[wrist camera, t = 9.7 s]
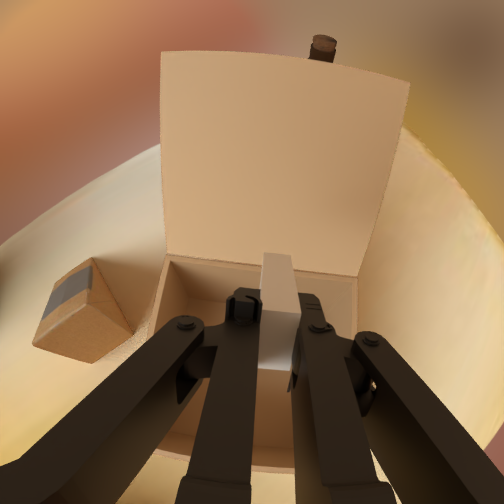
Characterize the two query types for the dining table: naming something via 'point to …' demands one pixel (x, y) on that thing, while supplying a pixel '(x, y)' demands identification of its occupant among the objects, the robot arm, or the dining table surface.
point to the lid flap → (275, 157)
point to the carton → (268, 380)
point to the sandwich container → (82, 317)
